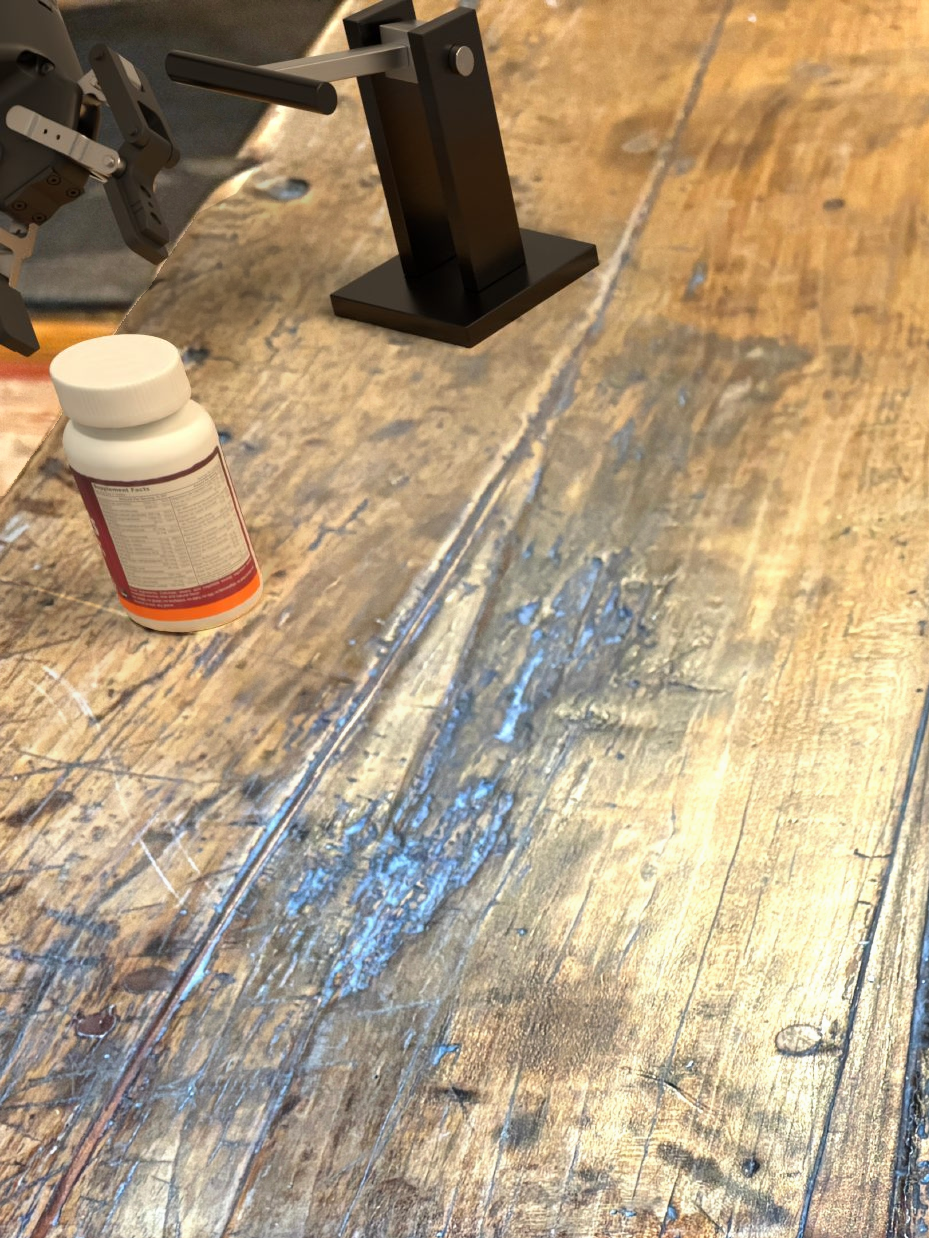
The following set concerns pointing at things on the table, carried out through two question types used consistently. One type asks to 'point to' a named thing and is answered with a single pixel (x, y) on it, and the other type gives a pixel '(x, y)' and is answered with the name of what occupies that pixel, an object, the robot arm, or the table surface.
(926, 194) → the table surface
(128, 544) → the pill bottle
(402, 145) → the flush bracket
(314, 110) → the flush lever
